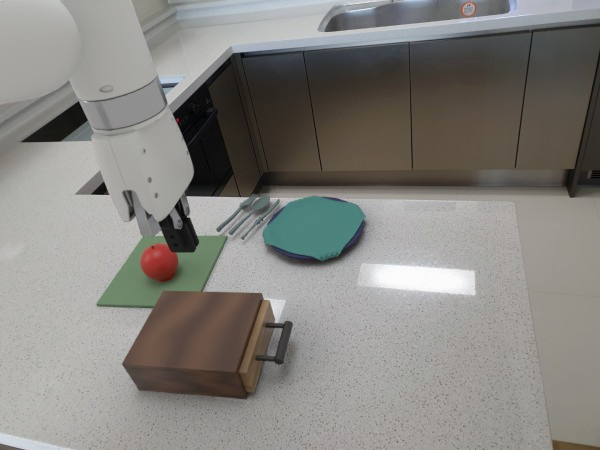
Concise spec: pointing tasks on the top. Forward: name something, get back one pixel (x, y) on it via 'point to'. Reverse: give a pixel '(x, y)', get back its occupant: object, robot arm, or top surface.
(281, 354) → the drawer
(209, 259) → the mat
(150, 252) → the apple
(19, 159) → the top surface
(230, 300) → the cabinet
